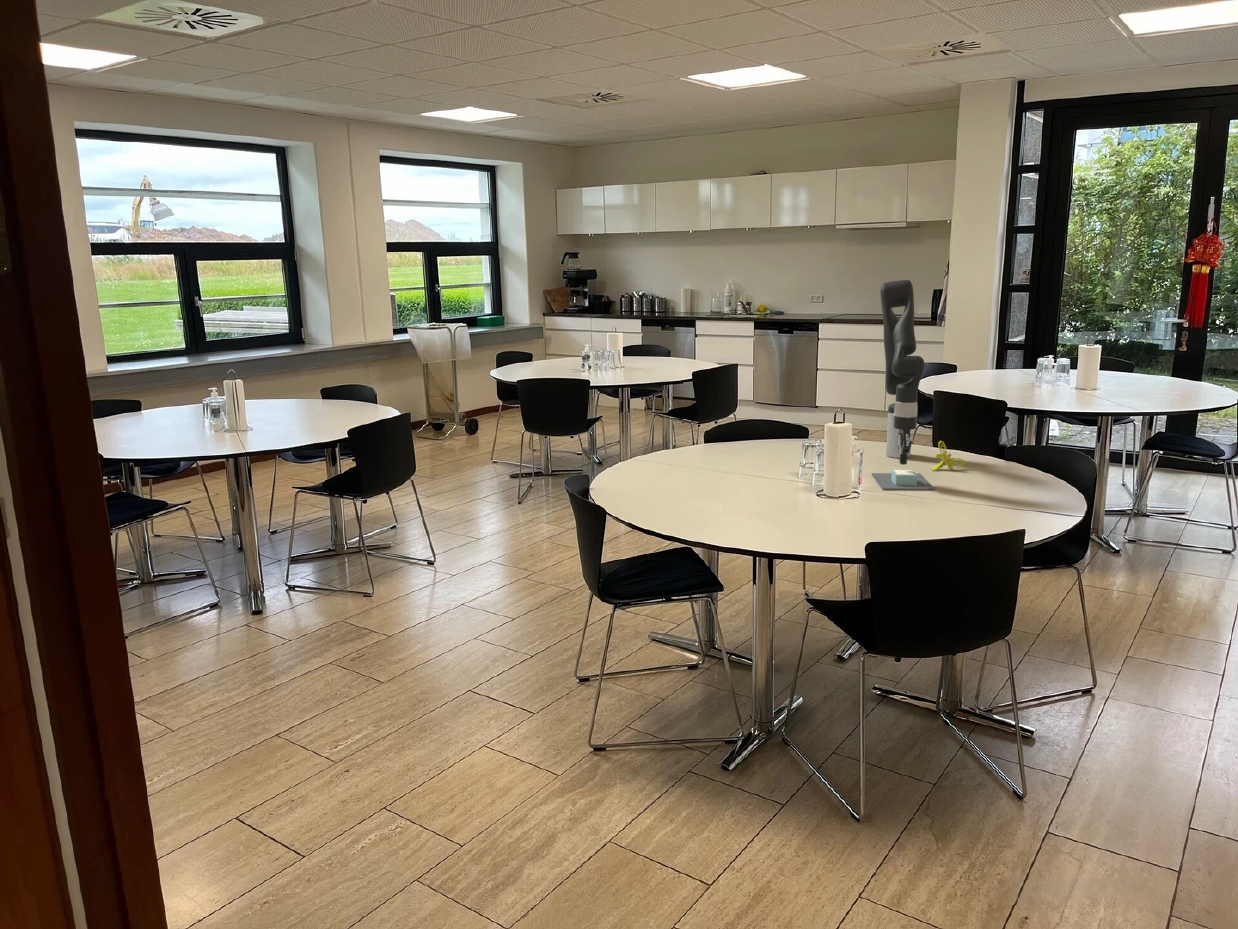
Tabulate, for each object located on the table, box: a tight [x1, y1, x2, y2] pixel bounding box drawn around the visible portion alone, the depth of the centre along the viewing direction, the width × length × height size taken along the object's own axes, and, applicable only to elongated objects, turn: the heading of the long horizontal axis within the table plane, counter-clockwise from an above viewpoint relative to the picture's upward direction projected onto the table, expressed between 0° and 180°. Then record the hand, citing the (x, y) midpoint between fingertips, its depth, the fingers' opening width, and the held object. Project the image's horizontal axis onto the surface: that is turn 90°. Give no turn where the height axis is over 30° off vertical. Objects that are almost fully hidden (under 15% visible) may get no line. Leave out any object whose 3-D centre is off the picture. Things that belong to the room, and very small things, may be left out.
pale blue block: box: [890, 469, 917, 485], centre depth 312 cm, size 4×7×8 cm
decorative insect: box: [930, 440, 966, 472], centre depth 331 cm, size 13×3×10 cm
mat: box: [871, 472, 936, 491], centre depth 315 cm, size 22×17×1 cm
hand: (903, 464), depth 313 cm, fingers closed
